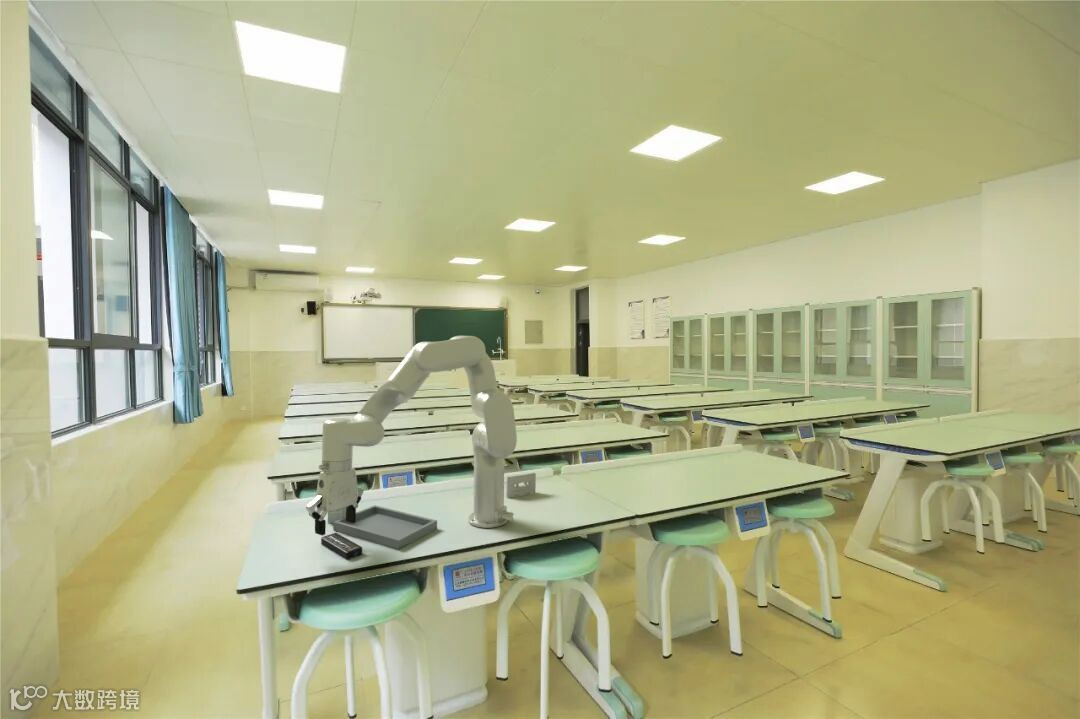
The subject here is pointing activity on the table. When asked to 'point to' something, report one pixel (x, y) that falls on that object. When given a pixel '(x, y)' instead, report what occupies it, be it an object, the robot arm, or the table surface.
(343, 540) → the multiport hub
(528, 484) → the cassette
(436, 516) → the table surface
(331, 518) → the medicine box
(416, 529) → the tray
